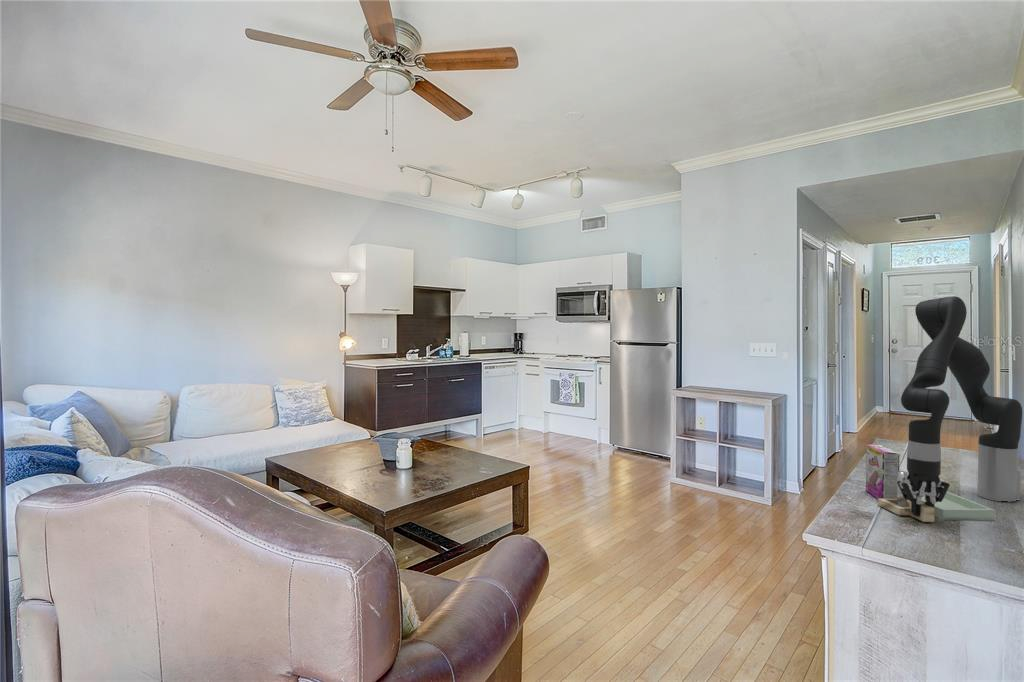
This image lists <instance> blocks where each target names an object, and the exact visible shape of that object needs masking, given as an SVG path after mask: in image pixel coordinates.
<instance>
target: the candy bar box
mask: <svg viewBox="0 0 1024 682" xmlns="http://www.w3.org/2000/svg"><path fill="white" fill-rule="evenodd" d="M865 446H866V447H865V451H866V453H865V492H867V493H868V494H869V493H870V494H869V495H871V496H872V495H873V496H872V497H873V498H875V497H876V498H875V499H877V500H878V498H881V499H897V481H898V471H900V452H897V451H895V450H893V449H890V448H889V447H886V446H884V445H882V444H866V445H865Z"/></svg>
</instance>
